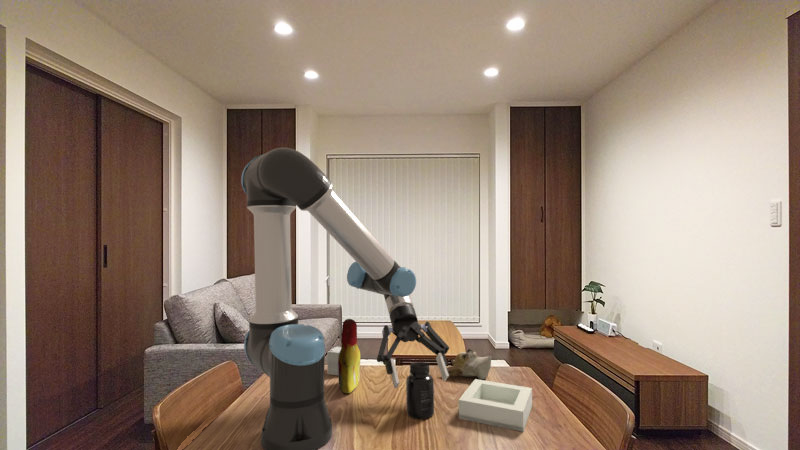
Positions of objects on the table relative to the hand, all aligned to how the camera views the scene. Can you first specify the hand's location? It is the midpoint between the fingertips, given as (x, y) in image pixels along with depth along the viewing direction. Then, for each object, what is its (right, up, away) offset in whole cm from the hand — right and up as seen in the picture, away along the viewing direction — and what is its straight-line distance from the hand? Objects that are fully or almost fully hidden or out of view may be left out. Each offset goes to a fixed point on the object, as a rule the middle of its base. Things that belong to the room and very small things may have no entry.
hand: (422, 382), depth 99 cm
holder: (+19, -7, -2) cm, 20 cm away
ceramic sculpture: (+16, -8, +24) cm, 29 cm away
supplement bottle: (-1, -7, -2) cm, 7 cm away
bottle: (-21, -8, +14) cm, 26 cm away
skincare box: (-25, -8, +27) cm, 38 cm away
